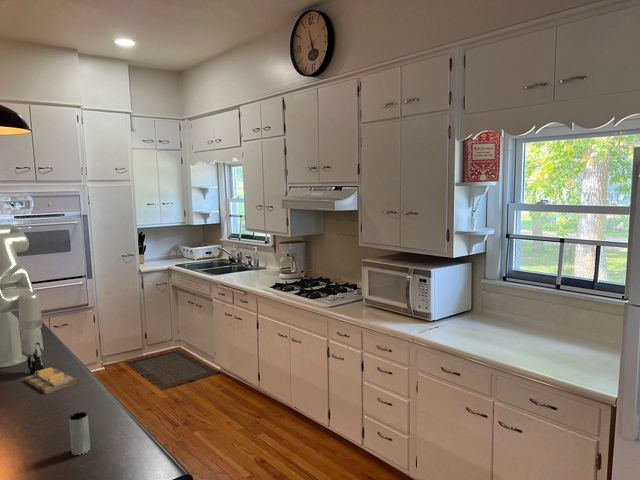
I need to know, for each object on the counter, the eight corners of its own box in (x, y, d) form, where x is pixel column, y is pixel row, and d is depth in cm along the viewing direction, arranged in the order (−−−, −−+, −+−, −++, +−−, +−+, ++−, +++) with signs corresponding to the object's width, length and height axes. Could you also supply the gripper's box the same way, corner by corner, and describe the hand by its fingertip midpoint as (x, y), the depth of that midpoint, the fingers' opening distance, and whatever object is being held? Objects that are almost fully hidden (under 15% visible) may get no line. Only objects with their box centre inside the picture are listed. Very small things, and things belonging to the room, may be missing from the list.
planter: (76, 447, 131) (73, 412, 130) (92, 446, 132) (90, 411, 130) (69, 456, 127) (65, 420, 126) (86, 455, 127) (83, 419, 126)
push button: (25, 376, 184) (22, 352, 183) (25, 372, 188) (23, 348, 187) (44, 373, 187) (42, 348, 186) (44, 369, 192) (42, 345, 191)
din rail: (33, 374, 182) (33, 372, 182) (47, 370, 186) (47, 368, 186) (54, 386, 170) (54, 384, 170) (68, 382, 174) (68, 380, 174)
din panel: (25, 381, 180) (25, 377, 179) (56, 372, 188) (55, 368, 188) (45, 393, 168) (45, 389, 167) (77, 383, 176) (76, 379, 176)
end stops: (37, 374, 179) (36, 371, 179) (51, 370, 183) (50, 367, 183) (50, 382, 172) (49, 378, 172) (64, 378, 176) (64, 374, 176)
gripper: (12, 323, 188) (16, 367, 190) (28, 330, 177) (32, 376, 179) (33, 319, 194) (37, 362, 195) (49, 325, 183) (53, 370, 185)
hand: (34, 368), depth 187 cm, fingers closed on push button, 3 cm apart
